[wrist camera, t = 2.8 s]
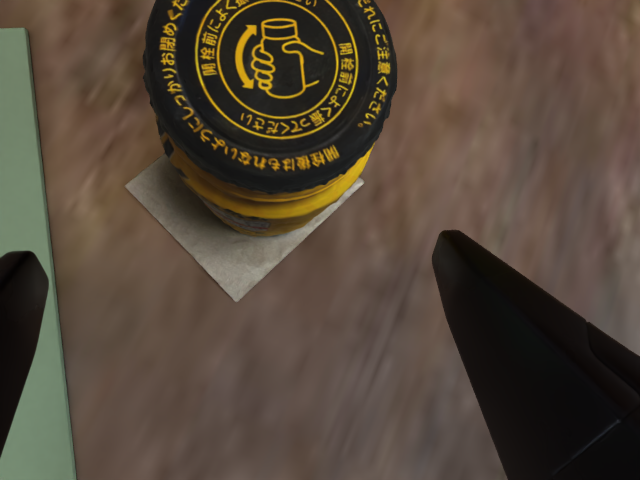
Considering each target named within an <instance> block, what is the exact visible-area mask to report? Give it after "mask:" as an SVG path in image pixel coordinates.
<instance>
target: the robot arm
mask: <svg viewBox="0 0 640 480" xmlns="http://www.w3.org/2000/svg"><path fill="white" fill-rule="evenodd" d="M432 265H433V269H434V273H435V277H436V281H437V285H438V288H439V292H440V296H441V300H442V304H443V308H444V312H445V315H446V319H447V322H448V324H449V327H450V330H451V332H452V335H453V338H454V340H455V343H456V346H457V348H458V351H459V353H460V356H461V359H462V361H463V364H464V366H465V369H466V372H467V374H468V377H469V379H470V382H471V385H472V387H473V390H474V393H475V395H476V398H477V400H478V403H479V406H480V408H481V411H482V413H483V416H484V419H485V421H486V424H487V426H488V429H489V432H490V434H491V437H492V440H493V442H494V445H495V447H496V450H497V453H498V455H499V458H500V460H501V463H502V466H503V468H504V471H505V473H506V476H507V479H508V480H640V356H638V355H637V354H635V353H634V352H632V351H631V350H629V349H628V348H626V347H625V346H623V345H622V344H620V343H619V342H617V341H616V340H614V339H613V338H611V337H610V336H608V335H607V334H605V333H604V332H603V331H601V330H600V329H598V328H597V327H596V326H594V325H593V324H591V323H590V322H586V320H585V319H584V318H583V317H581V316H580V315H578V314H577V313H576V312H574V311H573V310H571V309H570V308H569V307H567V306H566V305H564V304H563V303H561V302H560V301H559V300H557V299H556V298H554V297H553V296H552V295H550V294H549V293H547V292H546V291H544V290H543V289H542V288H540V287H539V286H537V285H536V284H535V283H533V282H532V281H530V280H529V279H527V278H526V277H525V276H523V275H522V274H520V273H519V272H518V271H516V270H515V269H513V268H512V267H510V266H509V265H508V264H506V263H505V262H503V261H502V260H501V259H499V258H498V257H496V256H495V255H493V254H492V253H491V252H489V251H488V250H486V249H485V248H484V247H482V246H481V245H479V244H478V243H477V242H475V241H474V240H472V239H471V238H469V237H468V236H467V235H465V234H464V233H462V232H461V231H459V230H444V231H442V232H441V233H440V234H439V237H438V240H437V243H436V246H435V249H434V251H433V255H432ZM48 290H49V279H48V276H47V274H46V272H45V271H44V269H43V267H42V265H41V263H40V262H39V260H38V258H37V256H36V255H35V253H33V252H32V251H29V250H25V251H11V252H8V253H6V254H4V255H3V256H1V257H0V458H1V455H2V452H3V449H4V446H5V443H6V440H7V437H8V434H9V431H10V428H11V425H12V422H13V419H14V416H15V413H16V410H17V407H18V404H19V401H20V398H21V395H22V392H23V389H24V386H25V383H26V380H27V377H28V374H29V371H30V368H31V365H32V362H33V359H34V356H35V352H36V348H37V344H38V340H39V335H40V330H41V325H42V320H43V315H44V310H45V305H46V300H47V295H48Z"/></svg>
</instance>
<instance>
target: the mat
mask: <svg viewBox="0 0 640 480" xmlns="http://www.w3.org/2000/svg"><path fill="white" fill-rule="evenodd" d="M25 250H29V251H32V252H33V253H35V255H36V256H37V258H38V260H39V262H40V263H41V265H42V267H43V269H44V271H45V272H46V274H47V276H48V279H49V290H48V295H47V300H46V305H45V310H44V315H43V320H42V325H41V330H40V335H39V340H38V344H37V348H36V352H35V356H34V359H33V362H32V365H31V368H30V371H29V374H28V377H27V380H26V383H25V386H24V389H23V392H22V395H21V398H20V401H19V404H18V407H17V410H16V413H15V416H14V419H13V422H12V425H11V428H10V431H9V434H8V437H7V440H6V443H5V446H4V449H3V452H2V455H1V458H0V480H77V478H76V469H75V460H74V451H73V442H72V432H71V423H70V414H69V405H68V396H67V386H66V377H65V368H64V359H63V350H62V340H61V331H60V322H59V313H58V304H57V294H56V285H55V276H54V267H53V258H52V248H51V239H50V230H49V221H48V211H47V202H46V193H45V184H44V175H43V165H42V156H41V147H40V138H39V129H38V119H37V110H36V101H35V92H34V83H33V73H32V64H31V55H30V46H29V37H28V31H27V30H26V29H25V28H3V29H0V257H1V256H3V255H4V254H6V253H8V252H11V251H25Z"/></svg>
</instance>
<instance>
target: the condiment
mask: <svg viewBox="0 0 640 480" xmlns="http://www.w3.org/2000/svg"><path fill="white" fill-rule="evenodd" d="M143 65H144V68H145V73H144V76H143V79H144V82H145V87H146V90H147V92H148V93H149V95H150V104H151V106H152V108H153V109H154V112H155V113H156V122H157V125H158V131H159V135H160V140H161V142H162V144H163V147H164V150H165V153H164V154H163V155H162V156H161V157H159V158H158V159H157V160H156V161H155V162H154V163H152V164H151V165H150V166H148V167H147V168H146V169H144V170H143V171H142V172H140V173H139V174H138V175H137V176H136V177H135V178H134V179H133V180H131V181H130V182H129V183H128V184H127V185H125V187H126V188H127V189H128V190H129V191H130V192H131V193H132V195H133V196H134V197H135V198H137V199H138V200H139V202H140V203H141V204H142V205H143V206H144V207H145V208H146V209H147V210H148V211H149V212H150V213H151V214H152V215H153V216H154V217H155V218H156V219H157V220H158V221H159V222H160V223H161V224H162V225H163V226H164V228H165V229H166V230H168V231H169V233H170V234H171V235H173V237H174V238H175V239H176V240H177V241H178V242H179V243H180V244H181V245H182V246H183V247H184V248H185V249H186V250H187V251H188V252H189V253H190V254H191V255H192V256H193V258H194V259H195V260H196V261H197V262H198V263H199V264H200V265H201V266H202V267H203V268H204V269H205V270H206V271H207V272H208V273H209V274H210V275H211V276H212V277H213V278H214V280H215V281H216V282H217V283H218V284H219V285H220V286H221V287H222V288H223V289H224V290H225V291H226V292H227V293H228V294H229V295H230V296H231V297H232V298H233V300H234V301H235V302H238V301H239V300H240V299H241V298H242V297H243V296H244V295H245V294H246V293H247V292H248V291H249V290H250V289H251V288H253V287H254V286H255V285H256V284H257V283H258V282H259V281H260V280H261V279H262V278H263V277H264V276H265V275H266V274H267V273H269V272H270V271H271V270H272V269H273V268H274V267H275V266H276V265H277V264H278V263H279V262H280V261H281V260H282V259H283V258H285V257H286V256H287V255H288V254H289V253H290V252H291V251H292V250H293V249H294V248H295V247H296V246H297V245H298V244H299V243H300V242H302V241H303V240H304V239H305V238H306V237H307V236H308V235H309V234H310V233H311V232H312V231H313V230H314V229H315V228H316V227H318V226H319V225H320V224H321V223H322V222H323V221H324V220H325V219H326V218H327V217H328V216H329V215H330V214H331V213H332V212H334V211H335V210H336V209H337V208H338V207H339V206H340V205H341V204H342V203H343V202H344V201H345V200H346V199H347V198H348V197H350V196H351V195H352V194H353V193H354V192H355V191H356V190H357V189H358V188H359V187H360V186H361V185H362V184H364V183H365V182H364V181H363V180H362V179H361V178H360V175H361V173H362V170H363V168H364V166H365V165H366V163H367V161H368V158H369V155H370V153H371V150H372V148H373V146H374V143H375V141H376V140H377V139H378V138H379V135H380V133H381V131H382V128H383V123H384V121H385V119H386V118H388V117H389V114H390V107H391V100H392V97H393V95H394V93H395V91H396V87H397V62H396V53H395V50H394V47H393V42H392V38H391V34H390V31H389V28H388V25H387V22H386V20H385V18H384V16H383V14H382V12H381V11H380V9H379V8H378V6H377V4H376V3H375V2H374V0H156V1H155V4H154V7H153V9H152V12H151V14H150V17H149V21H148V24H147V31H146V49H145V51H144V54H143Z"/></svg>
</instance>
